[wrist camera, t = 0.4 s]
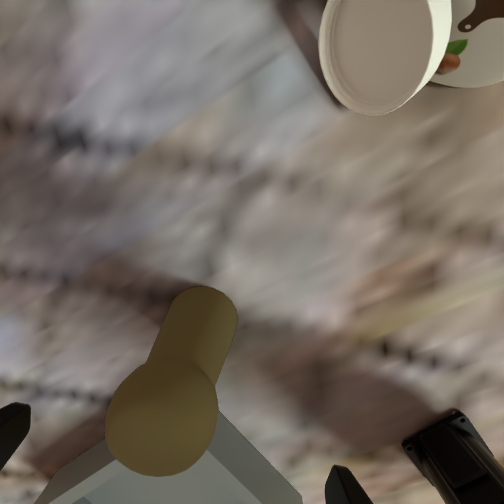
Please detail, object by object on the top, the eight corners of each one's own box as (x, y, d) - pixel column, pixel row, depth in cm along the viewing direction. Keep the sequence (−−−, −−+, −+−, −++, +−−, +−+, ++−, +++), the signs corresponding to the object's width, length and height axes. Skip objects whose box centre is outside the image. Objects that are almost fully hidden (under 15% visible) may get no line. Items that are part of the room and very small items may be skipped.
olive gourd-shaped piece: (238, 350, 22) (223, 503, 11) (170, 349, 22) (89, 501, 11) (237, 286, 20) (220, 391, 10) (165, 285, 20) (66, 389, 10)
